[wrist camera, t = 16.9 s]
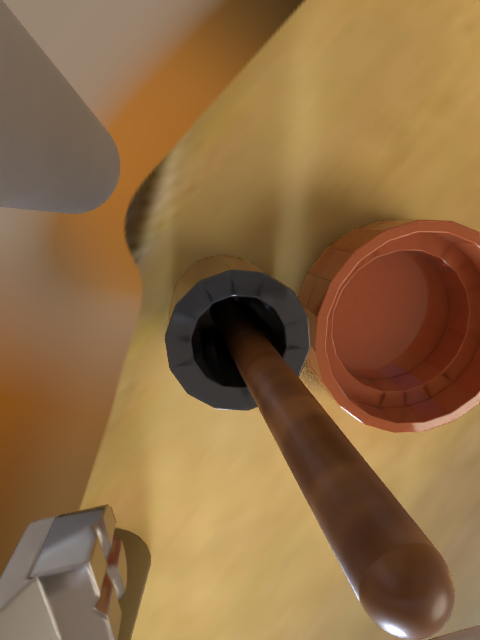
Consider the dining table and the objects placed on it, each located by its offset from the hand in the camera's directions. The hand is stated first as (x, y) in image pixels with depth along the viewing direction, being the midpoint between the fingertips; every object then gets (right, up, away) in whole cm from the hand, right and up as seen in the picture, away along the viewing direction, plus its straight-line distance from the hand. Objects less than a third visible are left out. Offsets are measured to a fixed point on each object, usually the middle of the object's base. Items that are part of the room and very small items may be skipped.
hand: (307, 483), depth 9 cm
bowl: (+9, +4, +22) cm, 24 cm away
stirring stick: (-3, +4, +19) cm, 20 cm away
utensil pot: (-3, +5, +20) cm, 21 cm away
